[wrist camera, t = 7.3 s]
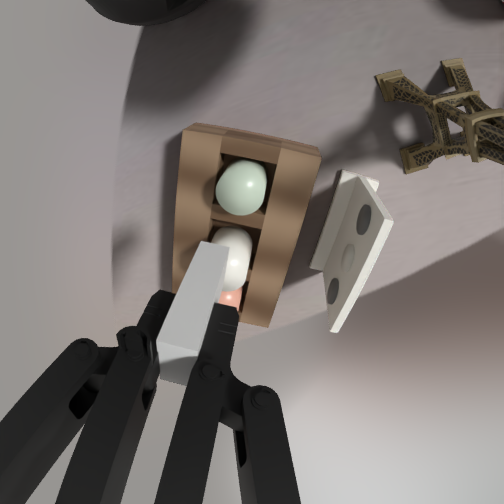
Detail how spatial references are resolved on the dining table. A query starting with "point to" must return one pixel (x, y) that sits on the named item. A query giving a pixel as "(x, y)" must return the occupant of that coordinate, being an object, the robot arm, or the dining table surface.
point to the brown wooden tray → (255, 224)
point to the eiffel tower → (444, 106)
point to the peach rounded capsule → (231, 297)
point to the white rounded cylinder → (235, 255)
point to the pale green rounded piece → (242, 186)
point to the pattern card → (350, 243)
